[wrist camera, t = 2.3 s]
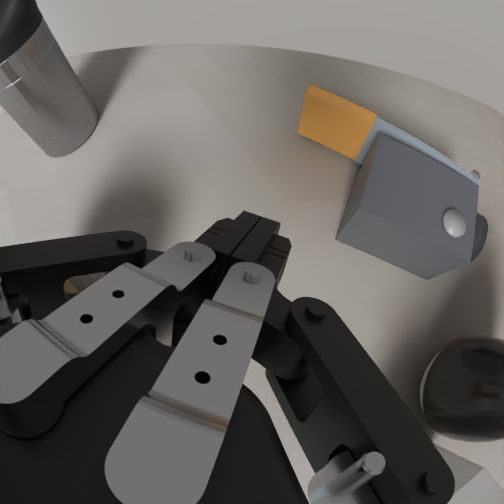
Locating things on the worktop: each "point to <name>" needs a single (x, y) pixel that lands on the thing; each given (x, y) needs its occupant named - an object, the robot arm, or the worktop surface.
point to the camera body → (413, 212)
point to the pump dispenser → (466, 390)
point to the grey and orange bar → (357, 129)
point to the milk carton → (471, 481)
